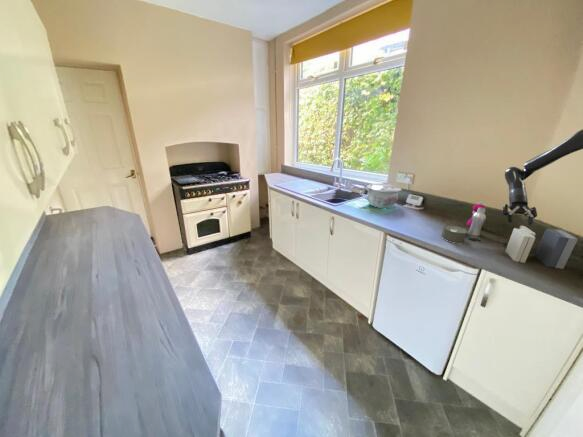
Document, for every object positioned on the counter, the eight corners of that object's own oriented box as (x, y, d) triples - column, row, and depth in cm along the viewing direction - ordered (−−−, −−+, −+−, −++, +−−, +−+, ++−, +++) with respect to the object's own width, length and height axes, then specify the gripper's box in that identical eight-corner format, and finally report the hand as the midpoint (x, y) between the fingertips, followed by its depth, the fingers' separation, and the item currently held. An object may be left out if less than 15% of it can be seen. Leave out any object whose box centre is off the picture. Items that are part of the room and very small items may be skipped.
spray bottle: (474, 233, 150) (483, 204, 143) (462, 229, 156) (471, 201, 149) (480, 232, 153) (490, 202, 146) (469, 228, 159) (478, 199, 152)
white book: (515, 248, 132) (524, 225, 127) (525, 258, 122) (535, 233, 117) (511, 248, 132) (520, 225, 127) (520, 257, 123) (530, 233, 118)
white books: (514, 253, 127) (524, 229, 122) (524, 262, 118) (535, 237, 113) (505, 251, 129) (513, 228, 124) (514, 261, 119) (524, 236, 114)
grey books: (549, 258, 122) (562, 230, 117) (563, 269, 113) (578, 239, 107) (534, 255, 124) (546, 228, 119) (546, 266, 115) (559, 236, 109)
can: (466, 239, 142) (469, 229, 140) (461, 245, 134) (464, 234, 132) (443, 233, 150) (446, 223, 148) (438, 238, 142) (440, 228, 140)
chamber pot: (402, 206, 203) (407, 182, 195) (390, 214, 184) (394, 188, 176) (372, 199, 221) (375, 177, 213) (357, 206, 202) (360, 182, 194)
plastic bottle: (464, 239, 142) (474, 208, 135) (466, 236, 147) (475, 205, 139) (477, 243, 138) (488, 211, 131) (479, 239, 142) (489, 208, 135)
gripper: (506, 193, 134) (508, 218, 129) (538, 195, 130) (541, 222, 124) (499, 199, 141) (500, 223, 135) (529, 202, 136) (532, 227, 130)
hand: (520, 222), depth 129 cm, fingers open, 8 cm apart
